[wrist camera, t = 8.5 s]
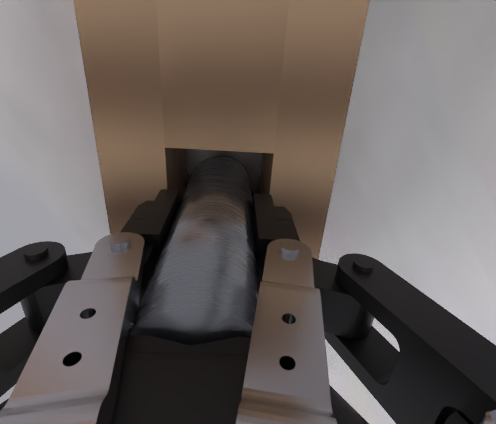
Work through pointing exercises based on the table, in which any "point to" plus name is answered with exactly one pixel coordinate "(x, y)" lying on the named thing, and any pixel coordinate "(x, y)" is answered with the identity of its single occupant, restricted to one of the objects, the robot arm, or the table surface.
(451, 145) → the table surface
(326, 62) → the hole block
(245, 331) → the peg
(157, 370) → the robot arm
